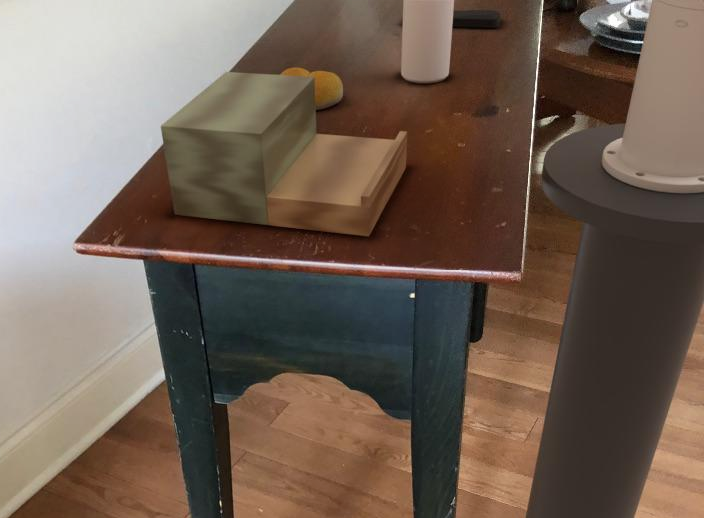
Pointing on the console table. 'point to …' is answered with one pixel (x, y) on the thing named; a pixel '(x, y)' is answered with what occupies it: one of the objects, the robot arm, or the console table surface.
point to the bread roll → (321, 86)
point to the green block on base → (275, 159)
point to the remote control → (476, 18)
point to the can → (426, 40)
